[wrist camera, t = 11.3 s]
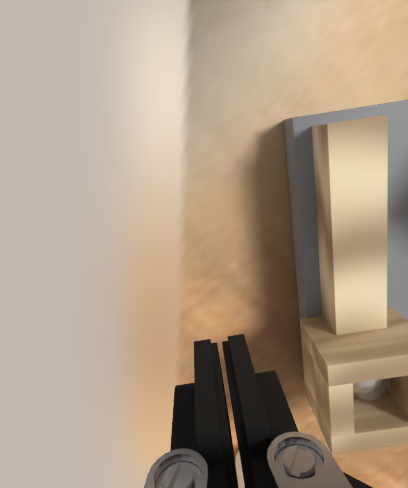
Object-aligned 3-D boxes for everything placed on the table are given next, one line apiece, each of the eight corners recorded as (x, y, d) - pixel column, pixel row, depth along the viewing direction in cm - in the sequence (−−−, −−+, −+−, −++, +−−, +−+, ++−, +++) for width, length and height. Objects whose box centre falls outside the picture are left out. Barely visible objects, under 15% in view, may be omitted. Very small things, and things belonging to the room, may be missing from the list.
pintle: (319, 323, 25) (352, 371, 20) (349, 319, 25) (390, 366, 20) (320, 349, 26) (353, 402, 21) (349, 345, 26) (390, 397, 21)
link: (285, 130, 19) (315, 126, 15) (391, 114, 19) (456, 104, 15) (305, 394, 24) (332, 455, 20) (389, 382, 24) (437, 440, 20)
